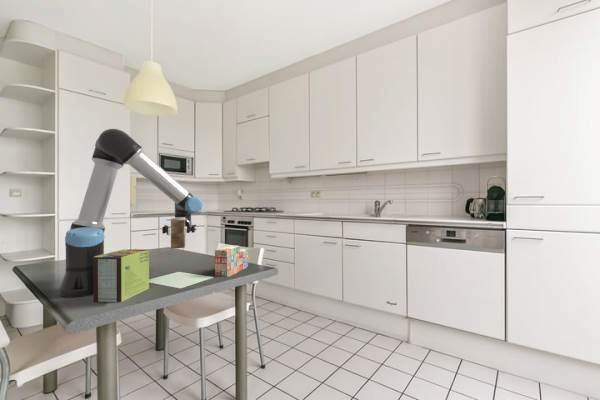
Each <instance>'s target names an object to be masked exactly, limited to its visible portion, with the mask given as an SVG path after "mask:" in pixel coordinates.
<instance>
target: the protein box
mask: <svg viewBox="0 0 600 400" xmlns="http://www.w3.org/2000/svg"><path fill="white" fill-rule="evenodd" d="M149 279H150V250H149V249H142V248H141V249H137V248H135V249H134V248H133V249H131V248H129V249H128V248H125V249H120V250H115V251H111V252H107V253H104V254H103V255H99V256H95V257H93V294H92V295H93V301H92V302H93V303H98V304H99V303H101V304H107V303H110V302H114V303H116V302H117V303H118V302H119V303H122V302H124V301H126V300H128V299H130V298H132V297H134V296H136V295H138V294H141V293H142V292H144V291H146V290H149V289H150V283H149Z"/></svg>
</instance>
